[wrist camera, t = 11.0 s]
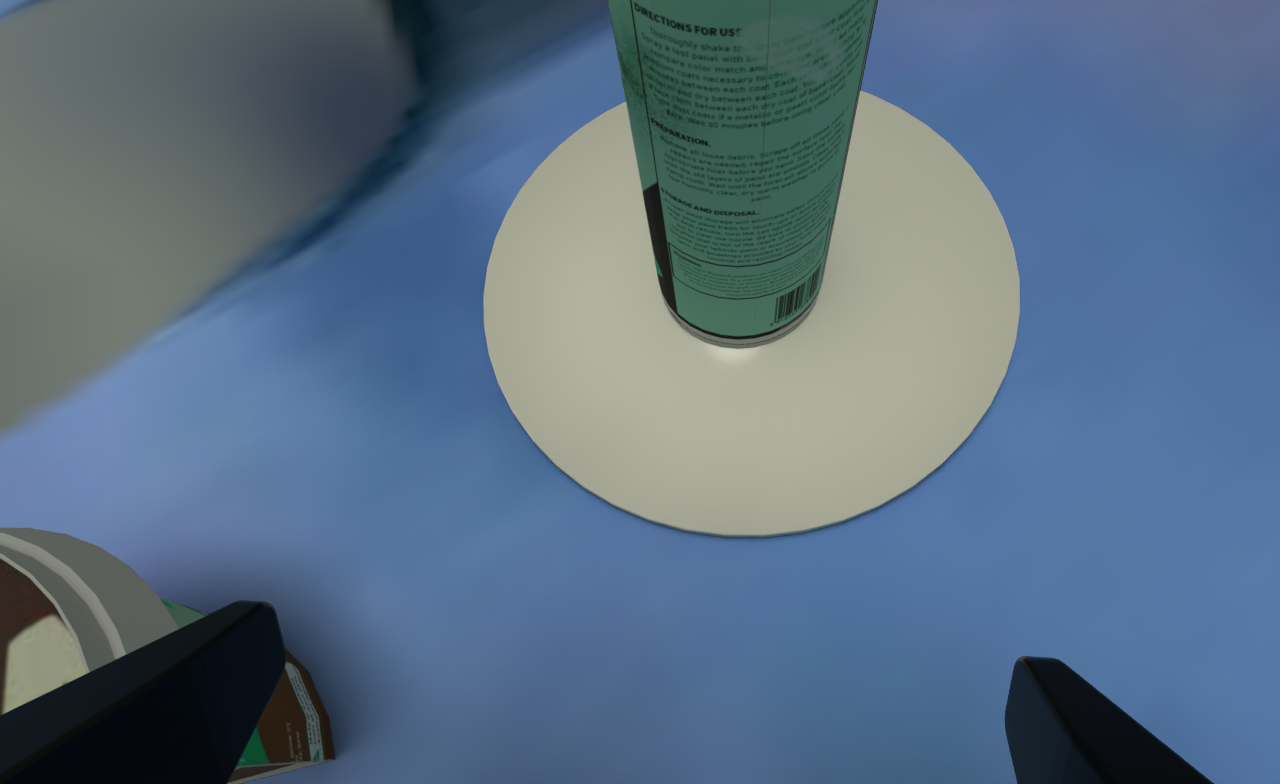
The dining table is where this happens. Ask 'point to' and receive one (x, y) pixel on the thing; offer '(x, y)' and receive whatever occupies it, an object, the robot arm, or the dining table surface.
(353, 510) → the dining table surface
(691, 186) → the spray can
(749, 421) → the cream round disc
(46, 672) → the food container
